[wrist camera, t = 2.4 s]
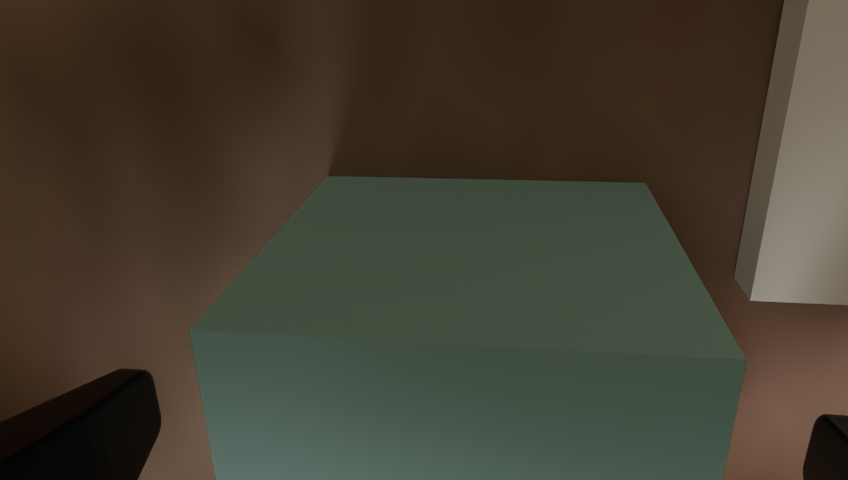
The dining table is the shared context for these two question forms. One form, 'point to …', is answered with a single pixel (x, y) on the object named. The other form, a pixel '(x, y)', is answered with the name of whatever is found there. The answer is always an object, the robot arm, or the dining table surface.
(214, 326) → the cube
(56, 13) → the dining table surface
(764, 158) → the plate
